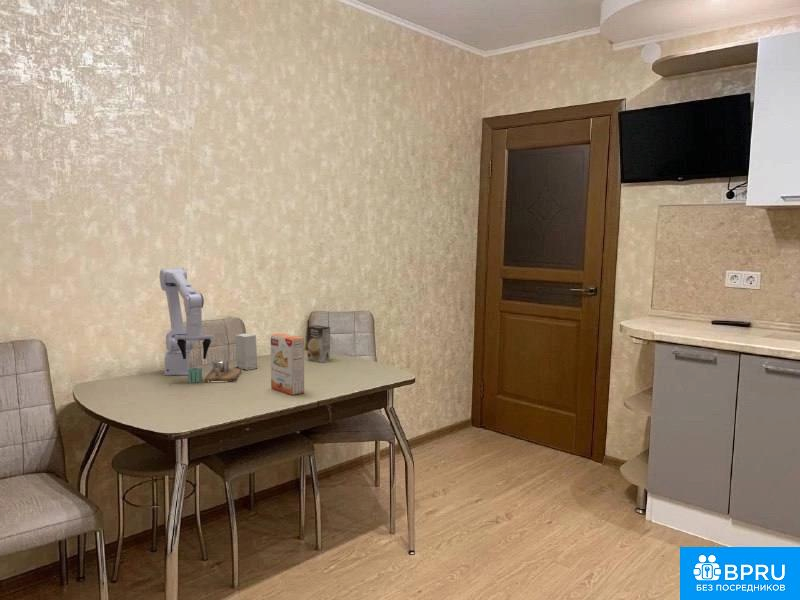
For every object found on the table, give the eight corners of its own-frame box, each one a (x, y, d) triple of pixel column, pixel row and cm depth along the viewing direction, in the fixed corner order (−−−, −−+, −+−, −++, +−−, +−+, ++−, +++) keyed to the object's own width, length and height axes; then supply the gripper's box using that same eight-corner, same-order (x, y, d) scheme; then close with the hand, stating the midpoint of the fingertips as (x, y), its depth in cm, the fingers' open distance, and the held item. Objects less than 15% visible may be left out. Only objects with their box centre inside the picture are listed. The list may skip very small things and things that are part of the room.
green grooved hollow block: (187, 383, 245) (187, 370, 244) (190, 379, 250) (190, 367, 250) (199, 382, 245) (199, 370, 245) (202, 379, 251) (201, 367, 250)
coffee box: (306, 360, 291) (306, 326, 290) (315, 358, 297) (315, 324, 295) (321, 363, 287) (322, 328, 285) (330, 360, 292) (330, 326, 290)
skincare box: (257, 368, 272) (257, 335, 271) (245, 370, 268) (245, 336, 267) (247, 365, 278) (247, 332, 277) (235, 367, 274) (235, 333, 273)
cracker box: (270, 388, 238) (269, 334, 236) (283, 386, 242) (283, 332, 240) (291, 395, 228) (291, 339, 226) (304, 393, 232) (304, 337, 230)
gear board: (204, 382, 246) (204, 371, 246) (212, 372, 264) (212, 361, 263) (235, 382, 248) (235, 370, 247) (241, 372, 265) (241, 361, 265)
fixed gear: (211, 372, 257) (211, 361, 256) (214, 369, 263) (214, 358, 262) (227, 372, 257) (227, 360, 257) (229, 369, 264) (229, 357, 263)
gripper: (172, 325, 240) (173, 360, 242) (211, 325, 242) (211, 360, 244) (176, 323, 247) (177, 357, 249) (214, 323, 249) (214, 356, 250)
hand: (194, 358), depth 247 cm, fingers open, 7 cm apart
